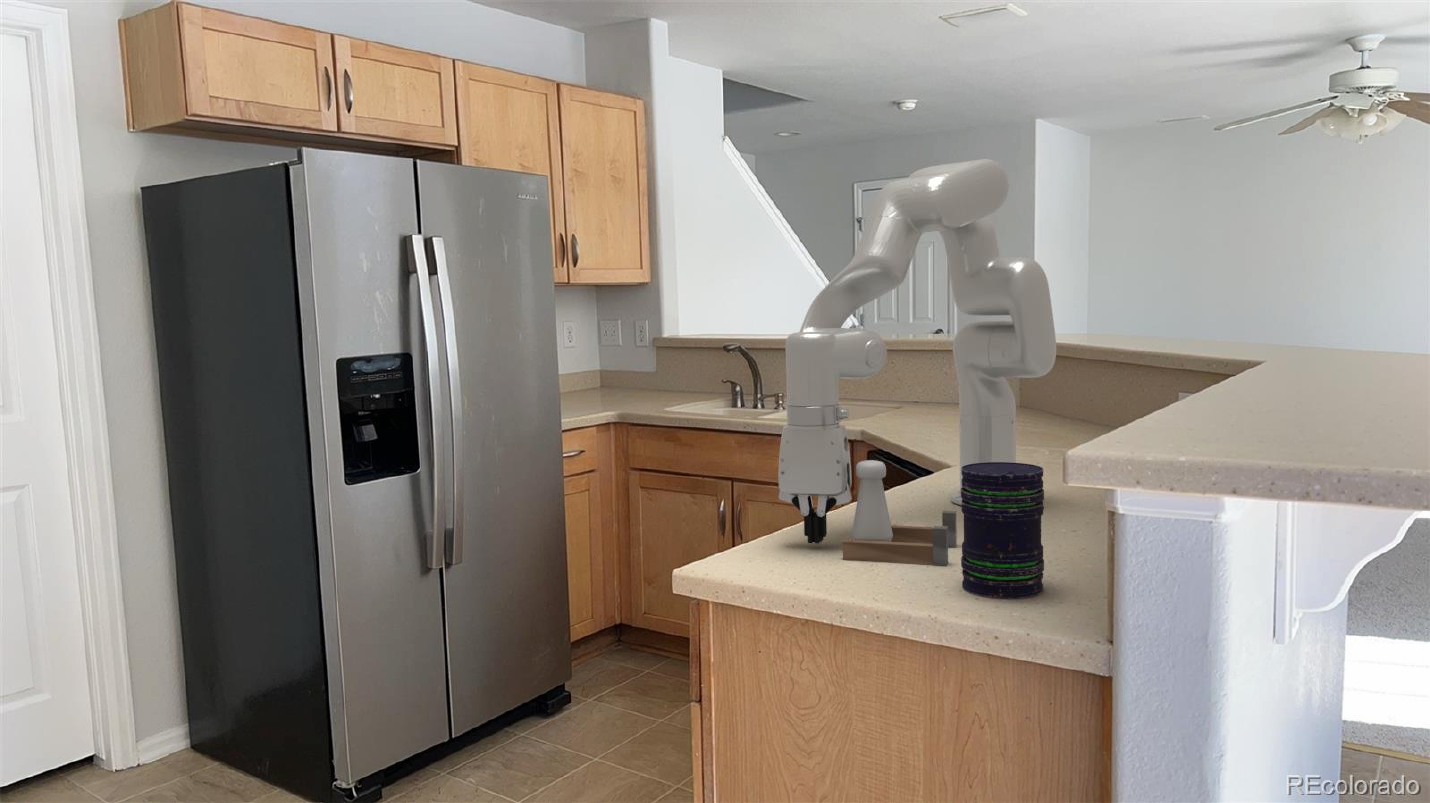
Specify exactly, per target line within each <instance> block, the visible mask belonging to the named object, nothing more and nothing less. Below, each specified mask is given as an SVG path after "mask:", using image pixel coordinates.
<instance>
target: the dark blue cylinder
mask: <svg viewBox="0 0 1430 803" xmlns="http://www.w3.org/2000/svg"><path fill="white" fill-rule="evenodd" d="M961 472H962V475H963V478H962V488H961V498H962V504H961V505H960V507H961V512H962V514H963V541H962V543H961V554H962V555H961V557H960V562H961V563H960V564H961V568H962V571H961V574H962V576H963V580H962V582H961V583H962V584H961V585H962V586H961V587H962V589H963V590H964V591H965V592H967V593H969V594H971V595H974V596H978V597H982V598H988V599H990V598H991V599H997V600H999V599H1000V600H1022V599H1029V598H1033V597H1036V596H1039V595H1041V594H1042V593H1043V591H1044V584H1043V579H1044V573H1043V572H1045V571H1044V570H1045V559H1044V546H1043V544H1042V516H1043V515H1044V509H1045V506H1044V500H1045V489H1044V480H1043V477H1044V468H1043V467H1042V466H1039V465H1036V464H1030V463H1024V462H1023V463H1022V462H1016V463H1012V462H986V463H974V464H968V465H965V466H963V467H962V468H961Z"/></svg>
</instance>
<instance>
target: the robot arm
mask: <svg viewBox="0 0 1430 803" xmlns="http://www.w3.org/2000/svg"><path fill="white" fill-rule="evenodd" d="M1009 185H1010V184H1009V178H1008V174H1007V172H1006V171H1005V169H1004V168H1003V166H1002V165H1001V164H1000V163H999V162H997V161H995V160H994V159H989V158H984V159H983V158H982V159H975V160H974V159H973V160H968V161H960V162H953V163H951V162H950V163H945V164H944V163H943V164H938V165H933V166H932V165H931V166H928V167H925V168H924V167H923V168H920V169H917V170H916V171H914V172H912V173H911V174H910V175H909V176H908V178H904V179H903V178H902V179H898V180H895V181H891V182H889V183H887V184H886V185H885V186H883V187H882V188H881V189H880V191H879V192H878V194H877V196H876V199H875V201H874V204H873V205H872V208H871V211H870V213H869V216H868V219H867V222H866V224H865V227H864V229H863V231H862V234H861V237H860V240H859V242H858V245H857V247H856V250H855V253H854V254H853V257H852V260H851V261H850V262H849V264H847V265H846V266H845V268H843V269H842V270H840V272H838V274H837V275H835V277H833V279H831V281H829V282H828V283H827V285H826V286H825V287H824V288H823V289H821V291H820V292H819V293H818V295H816V297H815V298H814V300H813V301H812V302H811V304H810V306H809V308H808V310H807V312H806V314H805V317H804V319H803V322H802V324H801V326H800V330H799V332H798V331H796V332H793V333H791V334H789V335H788V336H787V338H786V340H785V378H786V379H785V380H786V384H785V385H786V424H787V425H784V426H783V427H782V432H781V439H780V445H779V458H778V472H777V473H778V479H777V480H778V487H779V493H778V499H779V501H783V502H786V503H789V504H792V505H794V507H796V508H797V509H798V510H799V511H800V514H801V516H803V534H804V536H805V537H807V543H808V544H813V543H814V544H817V545H819V544H820V543H821V542H823V540H824V538H826V537H827V532H828V530H827V527H828V526H827V514H828V513H829V511H831V510H832V508H834V507H835V506H839V505H844V504H849V503H850V502H851V501H852V499H853V498H852V493H851V490H850V489H851V486H852V481H853V480H852V465H851V464H852V463H851V453H850V447H849V446H850V445H849V439H848V434H847V429H846V426H845V425H844V424H840V422H841V421H842V420H844V419H849V418H850V410H849V409H848V408H846V409H844V408H842V407H841V404H840V399H839V398H840V392H839V391H840V390H839V389H840V388H839V386H840V385H839V382H840V381H839V379H845V380H846V379H847V380H865V379H869V378H872V377H874V376H876V375H877V374H878V373H879V372H880V371H882V369H883V368H884V366H885V364H886V362H887V359H888V358H887V357H888V350H887V345H886V343H885V340H884V339H883V338H882V336H880V334H878V333H877V332H875V331H873V330H870V329H866V328H858V327H857V328H855V327H852V328H851V327H849V328H847V327H843V326H844V324H845V323H846V321H847V320H848V319H849V318H850V317H851V316H852V315H853V314H854V313H855V312H856V311H857V310H858V309H861V308H862V307H863V306H865V305H867V304H869V303H870V302H872V301H874V300H876V299H879V298H881V297H883V296H885V295H886V294H888V293H889V292H892V291H893V290H895V289H896V288H898V287H899V286H900V285H902V284H903V283H904V281H905V279H906V277H907V274H908V272H909V270H910V269H909V268H910V265H911V263H912V260H913V257H914V255H915V251H916V249H917V246H918V244H919V242H920V238H921V236H922V235H923V234H924V233H932V232H938V233H939V234H940V235H941V238H942V240H943V244H944V249H945V252H946V260H947V265H948V272H949V277H950V284H951V290H952V294H953V295H952V296H953V300H954V303H955V306H956V308H957V310H959V312H961V313H963V314H965V315H968V316H991V317H992V316H1010V319H1011V320H1012V321H1010V320H1009V321H1008V320H982V321H975V322H971V323H969V324H966V325H964V326H963V327H961V328H960V329H959V330H958V331H957V333H956V334H955V335H954V339H953V342H952V356H953V360H954V366H955V370H956V371H955V372H956V377H957V384H958V398H959V399H958V400H959V401H958V406H959V409H958V410H959V411H958V412H959V416H958V417H959V490H957V491H953V492H952V493H951V494H950V501H951V502H952V503H954V504H956V505H960V506H961V504H962V498H961V488H962V478H963V475H962V472H961V468H962V467H963V466H965V465H968V464H974V463H986V462H1012V463H1017V454H1016V453H1017V447H1016V446H1017V443H1016V442H1017V439H1016V438H1017V434H1016V433H1017V431H1016V430H1017V428H1016V426H1017V422H1016V421H1017V420H1016V419H1017V418H1016V417H1017V415H1016V414H1017V412H1016V411H1017V408H1016V407H1017V404H1016V398H1015V395H1014V393H1013V390H1012V389H1011V387H1010V385H1009V383H1008V382H1007V379H1006V378H1019V379H1020V378H1021V379H1024V378H1028V379H1030V378H1031V379H1032V378H1033V379H1034V378H1040V377H1044V376H1046V375H1047V374H1048V373H1050V372H1051V370H1052V369H1053V367H1054V365H1055V363H1056V357H1057V339H1056V338H1057V337H1056V332H1055V331H1056V330H1055V322H1054V314H1053V308H1052V299H1051V293H1050V292H1051V291H1050V288H1049V287H1050V286H1049V280H1048V277H1047V275H1046V273H1045V270H1044V269H1043V267H1042V266H1041V265H1040V264H1039V262H1037V261H1036V260H1034V259H1032V258H1031V257H1030V258H1029V257H1024V256H1023V257H1021V256H1019V257H1018V256H1017V257H1004V258H1003V257H1002V255H1001V252H1000V250H999V244H998V240H997V233H996V229H995V226H994V224H993V222H992V220H991V219H990V217H989V216H990V215H991V214H994V213H996V212H997V211H998V210H999V209H1000V208H1001V207H1002V206H1003V204H1004V202H1006V199H1007V197H1008V193H1009V187H1010V186H1009ZM812 496H817V497H818V499H817V506H816V510H815V509H814V503H813V498H812Z"/></svg>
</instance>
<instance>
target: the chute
mask: <svg viewBox="0 0 1430 803" xmlns="http://www.w3.org/2000/svg"><path fill="white" fill-rule="evenodd" d="M941 513H942V515H941V517H942V519H941V520H942V522H941V523H942V524H941V525H933V526H918V525H917V526H915V525H894V524H893V525H892V524H891V528H892V533H893V537H892V540H891V542H883V541H863V540H853V539H844V540H842V560H843V561H844V560H849V561H862V562H863V561H864V562H865V561H866V562H879V563H880V562H881V563H882V562H883V563H899V564H900V563H901V564H918V565H933V566H943V567H945V566H946V567H947V566H948V563H949V548H956V547H957V545H958V544H957V543H958V542H957V537H958V536H957V528H958V527H957V510H942V512H941Z"/></svg>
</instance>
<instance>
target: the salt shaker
mask: <svg viewBox="0 0 1430 803" xmlns="http://www.w3.org/2000/svg"><path fill="white" fill-rule="evenodd" d="M855 475H856V478H858V479H860V481H859V486H858V494H857V500H856V508H855V512H854V519H853V523H852V524H853V525H852V529H851V536H852V540H863V541H883V542H891V540H892V537H893V533H892V528H891V525H892V524H891V519H890V512H889V507H888V504H887V498H886V492H885V488H884V483H883V478H886V476H887V468H886V465H885V463H884V462H883V461H879V460H874V459H872V460H871V459H867V460H862V461H858V462H857V464H856V465H855Z"/></svg>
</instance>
